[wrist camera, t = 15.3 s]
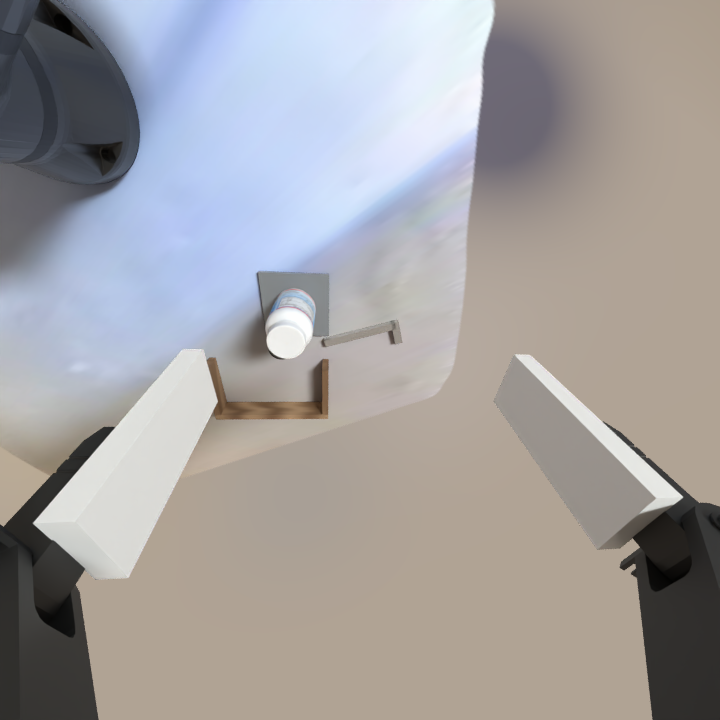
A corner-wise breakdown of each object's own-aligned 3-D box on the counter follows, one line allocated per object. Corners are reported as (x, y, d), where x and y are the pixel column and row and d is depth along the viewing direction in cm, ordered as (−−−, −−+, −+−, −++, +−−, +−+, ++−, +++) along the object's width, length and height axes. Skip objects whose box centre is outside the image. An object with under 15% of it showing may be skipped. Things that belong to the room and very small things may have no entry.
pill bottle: (294, 331, 45) (284, 372, 36) (267, 302, 42) (248, 338, 33) (324, 310, 44) (321, 347, 34) (298, 278, 41) (287, 310, 31)
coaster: (266, 332, 46) (266, 334, 45) (258, 270, 40) (257, 272, 40) (328, 334, 47) (328, 336, 46) (329, 274, 41) (328, 275, 41)
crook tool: (324, 337, 47) (323, 340, 46) (397, 318, 46) (398, 322, 45) (331, 356, 49) (330, 360, 48) (400, 339, 49) (402, 342, 48)
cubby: (222, 406, 53) (216, 419, 51) (209, 357, 47) (201, 369, 44) (328, 405, 55) (327, 418, 53) (328, 359, 49) (328, 370, 47)
